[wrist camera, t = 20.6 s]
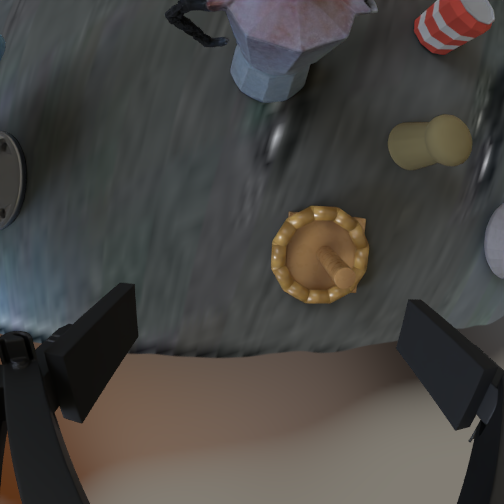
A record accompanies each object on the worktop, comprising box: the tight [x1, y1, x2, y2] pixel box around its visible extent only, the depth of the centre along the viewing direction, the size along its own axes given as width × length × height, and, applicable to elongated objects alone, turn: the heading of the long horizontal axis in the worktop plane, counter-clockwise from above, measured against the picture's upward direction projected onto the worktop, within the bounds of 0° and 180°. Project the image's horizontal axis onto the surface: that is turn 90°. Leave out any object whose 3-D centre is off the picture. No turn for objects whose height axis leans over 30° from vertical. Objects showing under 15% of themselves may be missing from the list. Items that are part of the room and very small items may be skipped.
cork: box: [388, 114, 472, 170], centre depth 29 cm, size 6×6×11 cm
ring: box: [271, 206, 369, 303], centre depth 36 cm, size 11×11×2 cm
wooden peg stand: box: [286, 212, 366, 293], centre depth 33 cm, size 9×9×10 cm
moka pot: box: [165, 0, 378, 103], centre depth 23 cm, size 10×15×20 cm, turn 98°
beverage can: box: [414, 0, 495, 55], centre depth 25 cm, size 6×6×12 cm
